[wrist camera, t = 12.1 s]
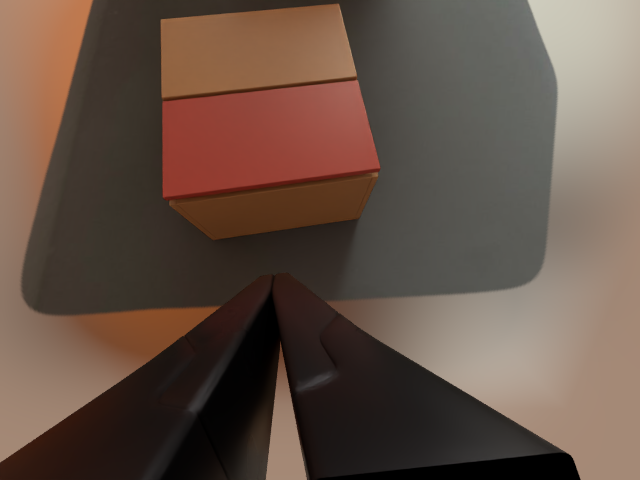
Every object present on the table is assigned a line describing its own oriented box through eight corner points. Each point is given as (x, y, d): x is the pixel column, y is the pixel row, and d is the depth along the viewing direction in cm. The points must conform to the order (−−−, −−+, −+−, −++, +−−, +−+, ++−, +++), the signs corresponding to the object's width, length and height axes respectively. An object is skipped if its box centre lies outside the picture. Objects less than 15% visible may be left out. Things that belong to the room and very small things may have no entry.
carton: (359, 218, 23) (382, 169, 15) (212, 240, 22) (161, 199, 14) (331, 92, 26) (339, 2, 19) (204, 106, 25) (159, 18, 18)
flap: (379, 172, 16) (380, 168, 15) (166, 200, 15) (162, 197, 14) (356, 85, 17) (357, 79, 17) (165, 106, 17) (161, 101, 16)
